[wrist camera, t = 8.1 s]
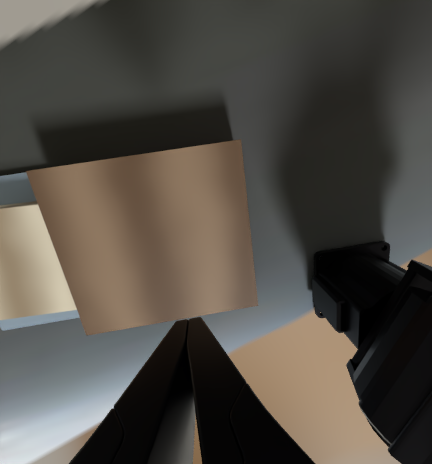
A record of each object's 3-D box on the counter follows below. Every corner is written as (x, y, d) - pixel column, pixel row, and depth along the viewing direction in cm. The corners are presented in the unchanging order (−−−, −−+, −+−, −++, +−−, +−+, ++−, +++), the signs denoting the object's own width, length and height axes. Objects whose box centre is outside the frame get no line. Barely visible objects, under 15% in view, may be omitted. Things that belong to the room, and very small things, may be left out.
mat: (53, 168, 18) (49, 168, 17) (100, 311, 21) (99, 314, 21) (-64, 185, 17) (-70, 186, 17) (5, 327, 21) (2, 330, 21)
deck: (233, 141, 18) (240, 139, 15) (249, 285, 22) (258, 305, 19) (53, 168, 18) (25, 171, 15) (100, 311, 21) (86, 335, 18)
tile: (59, 198, 18) (43, 203, 16) (88, 295, 20) (77, 309, 18) (-28, 208, 17) (-55, 214, 16) (12, 305, 20) (-7, 321, 18)
